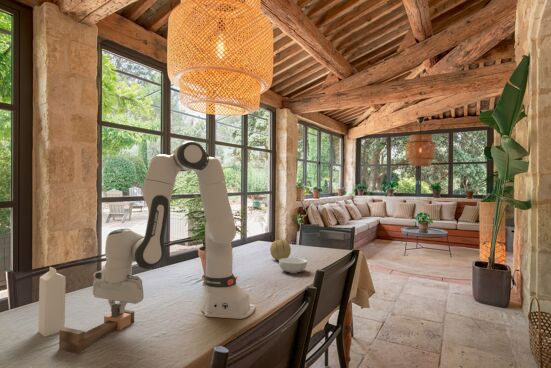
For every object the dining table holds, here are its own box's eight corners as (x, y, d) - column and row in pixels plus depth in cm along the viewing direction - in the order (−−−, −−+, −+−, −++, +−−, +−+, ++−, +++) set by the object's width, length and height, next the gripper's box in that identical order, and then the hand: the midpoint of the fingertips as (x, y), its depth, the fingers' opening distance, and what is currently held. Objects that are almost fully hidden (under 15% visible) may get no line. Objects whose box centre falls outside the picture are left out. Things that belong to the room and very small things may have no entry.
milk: (57, 326, 115) (59, 264, 115) (64, 330, 111) (66, 267, 112) (37, 332, 110) (39, 268, 110) (44, 337, 106) (46, 271, 107)
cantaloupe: (283, 263, 214) (284, 241, 214) (265, 260, 222) (266, 239, 222) (294, 259, 226) (295, 238, 226) (277, 256, 234) (277, 236, 234)
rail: (136, 322, 119) (136, 306, 119) (78, 354, 96) (79, 334, 96) (119, 319, 122) (119, 303, 122) (59, 349, 99) (59, 329, 99)
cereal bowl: (311, 271, 197) (311, 259, 197) (298, 277, 183) (298, 264, 183) (287, 266, 206) (287, 255, 206) (273, 272, 192) (273, 260, 192)
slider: (130, 324, 117) (130, 303, 117) (119, 329, 112) (120, 307, 112) (114, 321, 119) (115, 300, 119) (103, 326, 114) (104, 305, 114)
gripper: (148, 274, 115) (147, 312, 115) (104, 269, 122) (103, 305, 122) (135, 279, 109) (134, 319, 109) (89, 273, 116) (88, 311, 116)
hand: (117, 312), depth 116 cm, fingers closed on slider, 2 cm apart
